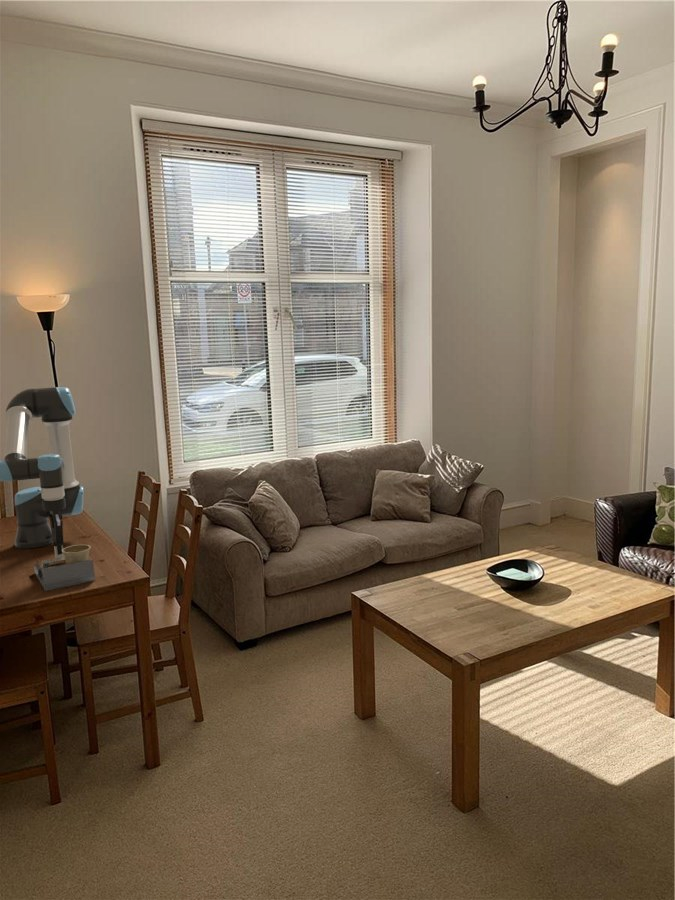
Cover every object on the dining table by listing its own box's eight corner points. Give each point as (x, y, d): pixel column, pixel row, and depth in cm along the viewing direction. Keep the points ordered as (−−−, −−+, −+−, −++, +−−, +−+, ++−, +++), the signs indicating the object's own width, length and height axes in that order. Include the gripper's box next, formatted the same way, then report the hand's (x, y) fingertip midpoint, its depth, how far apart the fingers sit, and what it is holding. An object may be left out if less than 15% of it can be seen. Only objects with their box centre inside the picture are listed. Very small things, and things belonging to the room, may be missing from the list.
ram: (42, 571, 234) (41, 561, 233) (79, 564, 240) (78, 553, 240) (44, 575, 230) (43, 564, 229) (82, 567, 236) (81, 557, 236)
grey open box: (34, 573, 239) (32, 553, 237) (81, 564, 247) (79, 544, 246) (45, 591, 220) (42, 569, 219) (94, 580, 228) (92, 559, 227)
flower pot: (98, 568, 236) (95, 544, 235) (83, 577, 227) (80, 552, 226) (74, 567, 238) (72, 544, 237) (58, 576, 229) (56, 552, 227)
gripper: (39, 496, 237) (46, 559, 241) (44, 503, 226) (52, 569, 230) (61, 493, 241) (67, 555, 245) (68, 499, 230) (74, 564, 234)
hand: (60, 562), depth 237 cm, fingers closed
